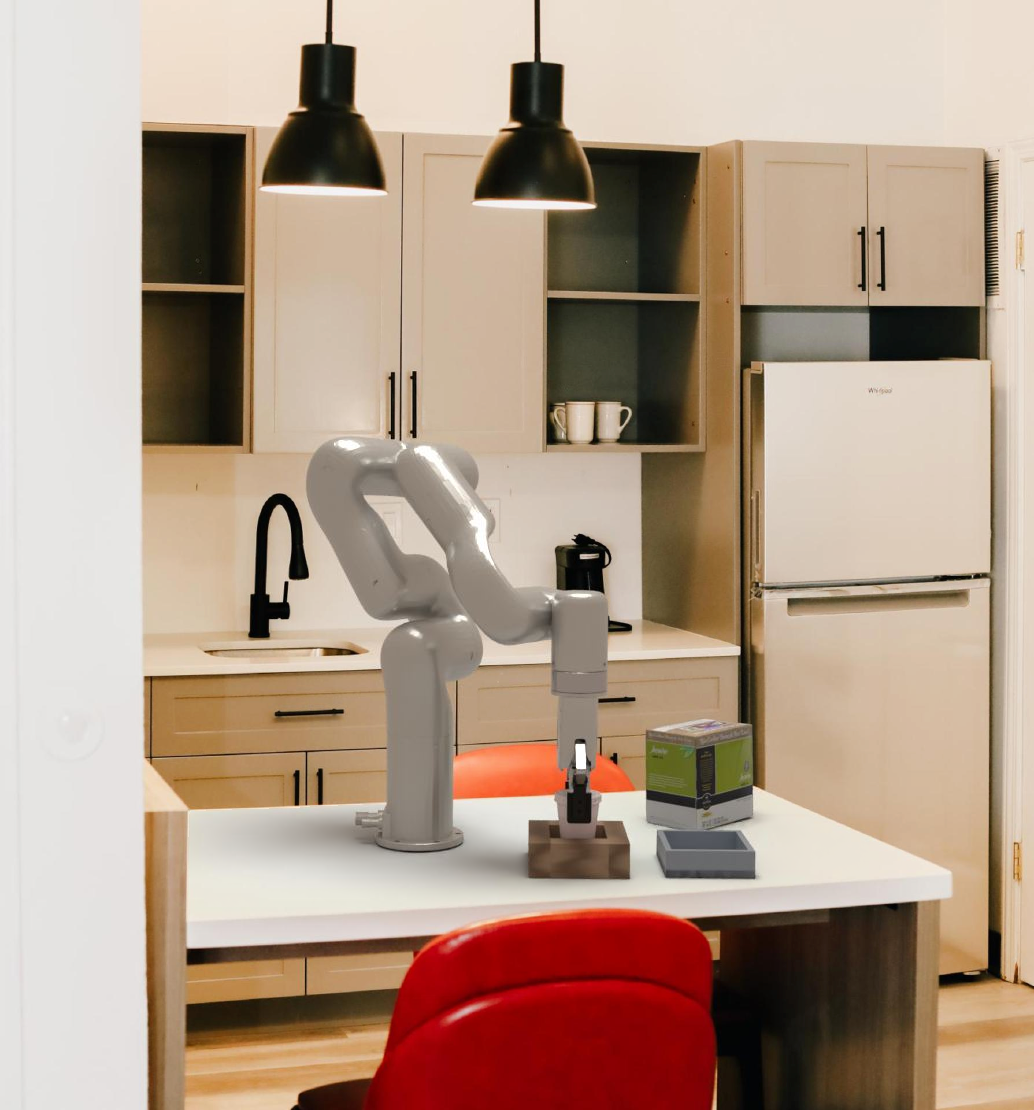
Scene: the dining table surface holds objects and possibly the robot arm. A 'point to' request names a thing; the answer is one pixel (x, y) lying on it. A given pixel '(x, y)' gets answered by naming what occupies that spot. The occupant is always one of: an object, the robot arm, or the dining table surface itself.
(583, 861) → the socket holder
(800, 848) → the dining table surface
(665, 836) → the tray
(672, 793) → the tea box
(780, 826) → the dining table surface
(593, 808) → the smoothie
